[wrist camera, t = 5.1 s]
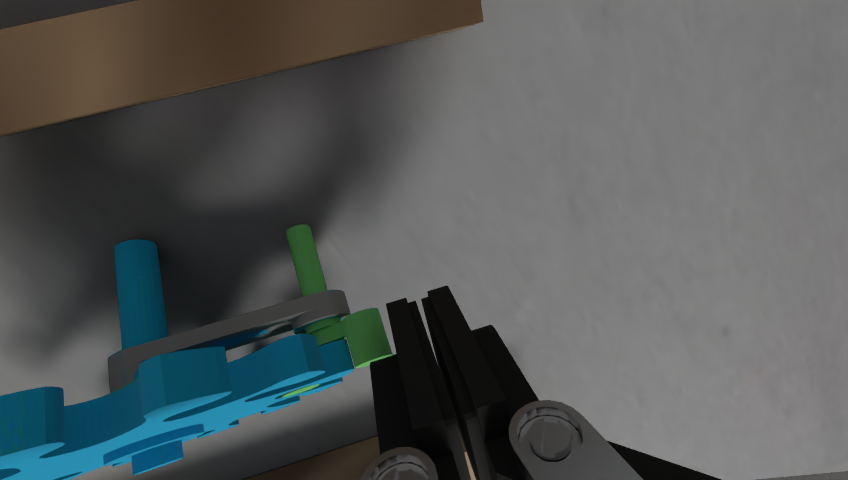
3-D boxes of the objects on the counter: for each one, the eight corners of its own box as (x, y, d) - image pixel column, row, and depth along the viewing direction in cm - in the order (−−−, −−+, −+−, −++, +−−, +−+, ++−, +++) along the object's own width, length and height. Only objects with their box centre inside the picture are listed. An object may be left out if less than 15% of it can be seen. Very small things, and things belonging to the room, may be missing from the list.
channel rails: (448, -47, 10) (471, -70, 9) (520, 419, 18) (540, 458, 16) (-591, 177, 8) (-844, 208, 7) (-17, 599, 16) (-63, 666, 14)
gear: (63, 507, 13) (-669, 747, 4) (57, 332, 15) (-436, 210, 6) (388, 387, 16) (420, 358, 6) (348, 252, 18) (327, 84, 8)
